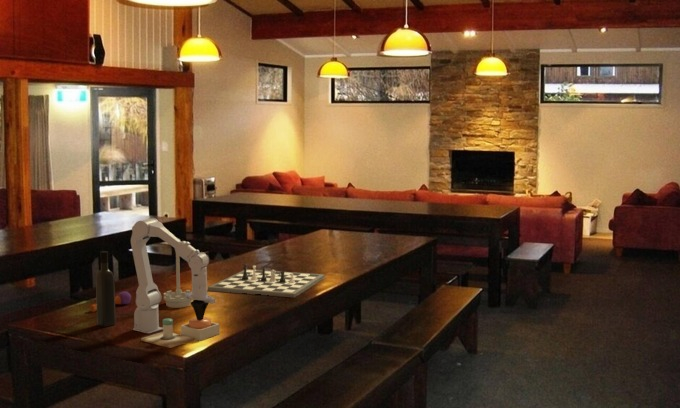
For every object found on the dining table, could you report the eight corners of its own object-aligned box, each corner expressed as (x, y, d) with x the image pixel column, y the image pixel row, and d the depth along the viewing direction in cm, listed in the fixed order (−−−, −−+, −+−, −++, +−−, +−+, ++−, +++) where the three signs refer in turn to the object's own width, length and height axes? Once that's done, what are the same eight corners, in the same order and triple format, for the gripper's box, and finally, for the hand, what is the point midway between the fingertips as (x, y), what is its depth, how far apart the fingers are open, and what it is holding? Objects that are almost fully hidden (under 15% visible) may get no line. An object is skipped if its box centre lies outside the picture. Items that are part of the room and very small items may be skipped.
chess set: (207, 292, 359) (207, 269, 357) (245, 273, 401) (245, 253, 400) (294, 299, 346) (294, 275, 344) (324, 279, 388) (324, 257, 387)
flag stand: (186, 308, 324) (185, 241, 321) (158, 307, 327) (157, 240, 323) (198, 301, 337) (196, 236, 333) (171, 300, 340) (169, 235, 336)
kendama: (86, 302, 320) (124, 290, 336) (89, 315, 320) (126, 302, 336) (94, 301, 316) (132, 289, 332) (97, 315, 317) (135, 302, 333)
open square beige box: (180, 335, 284) (180, 325, 284) (200, 329, 292) (200, 319, 292) (200, 340, 278) (200, 330, 278) (219, 334, 287) (219, 324, 286)
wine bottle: (108, 322, 303) (106, 249, 299) (116, 324, 299) (114, 251, 296) (96, 325, 298) (93, 251, 295) (104, 327, 295) (101, 253, 291)
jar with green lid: (160, 338, 278) (160, 320, 277) (168, 335, 281) (167, 317, 280) (167, 339, 276) (167, 321, 275) (175, 337, 279) (174, 319, 278)
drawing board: (141, 340, 278) (140, 338, 278) (165, 332, 288) (165, 330, 288) (170, 348, 269) (170, 345, 269) (194, 340, 279) (194, 337, 279)
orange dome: (184, 329, 284) (184, 320, 284) (200, 324, 291) (200, 315, 290) (200, 333, 279) (199, 324, 279) (215, 327, 286) (215, 319, 286)
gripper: (178, 284, 284) (179, 318, 285) (205, 289, 276) (206, 324, 277) (191, 280, 290) (192, 314, 291) (218, 285, 281) (219, 320, 283)
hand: (200, 319), depth 285 cm, fingers closed
